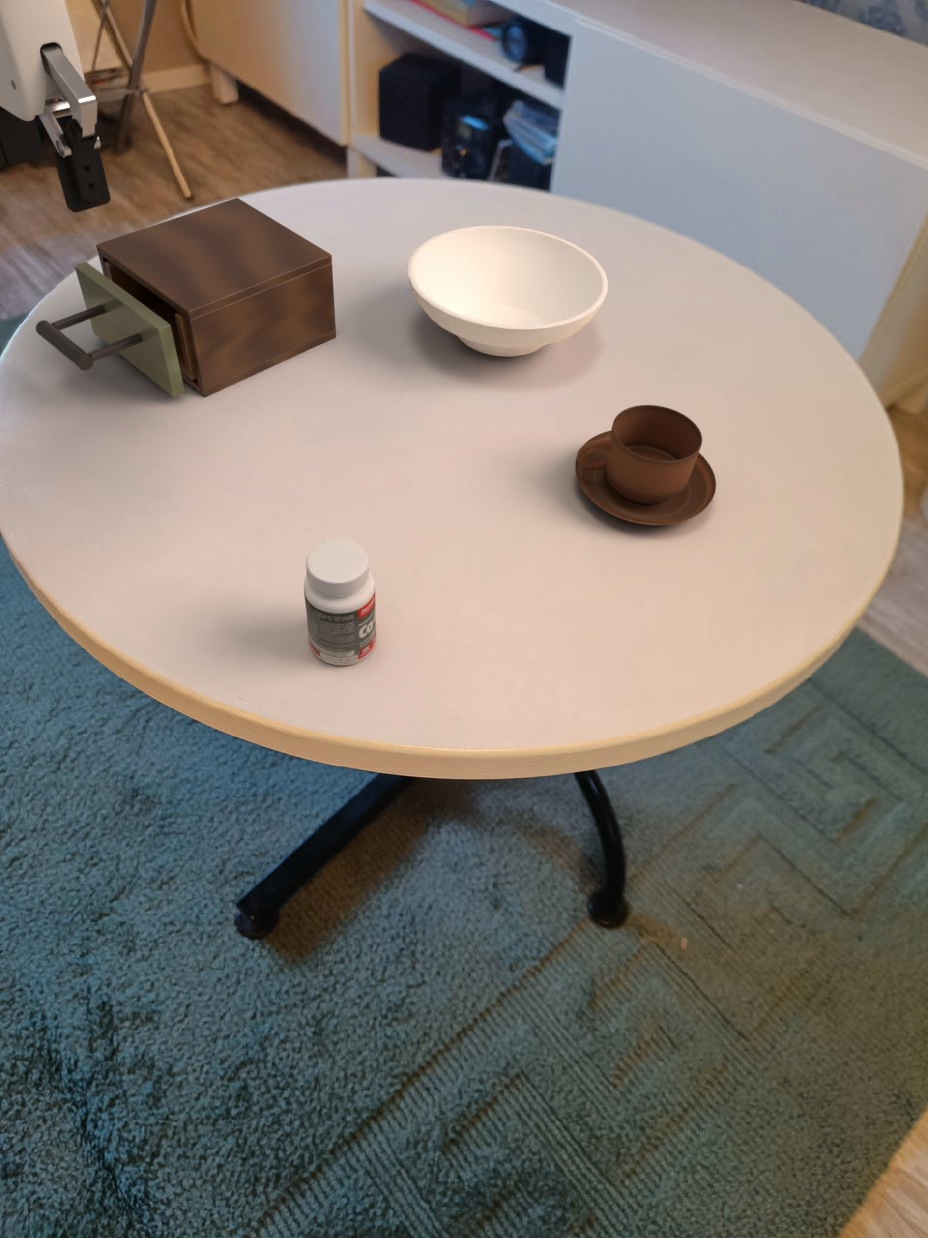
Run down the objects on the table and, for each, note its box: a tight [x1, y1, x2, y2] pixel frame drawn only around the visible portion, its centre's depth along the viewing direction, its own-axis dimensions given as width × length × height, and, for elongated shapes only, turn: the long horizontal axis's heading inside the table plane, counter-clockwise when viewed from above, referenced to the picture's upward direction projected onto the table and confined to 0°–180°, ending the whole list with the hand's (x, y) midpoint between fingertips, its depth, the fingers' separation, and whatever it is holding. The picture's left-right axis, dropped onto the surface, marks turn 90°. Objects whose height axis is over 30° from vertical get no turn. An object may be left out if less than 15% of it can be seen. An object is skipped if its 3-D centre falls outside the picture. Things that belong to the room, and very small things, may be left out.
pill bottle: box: [303, 538, 377, 667], centre depth 59 cm, size 5×5×8 cm
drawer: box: [35, 261, 197, 398], centre depth 80 cm, size 21×13×7 cm, turn 136°
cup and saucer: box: [574, 404, 717, 526], centre depth 73 cm, size 12×12×6 cm
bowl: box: [407, 224, 609, 358], centre depth 86 cm, size 20×20×7 cm
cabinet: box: [95, 197, 337, 398], centre depth 83 cm, size 16×15×9 cm
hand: (56, 182), depth 66 cm, fingers open, 9 cm apart
